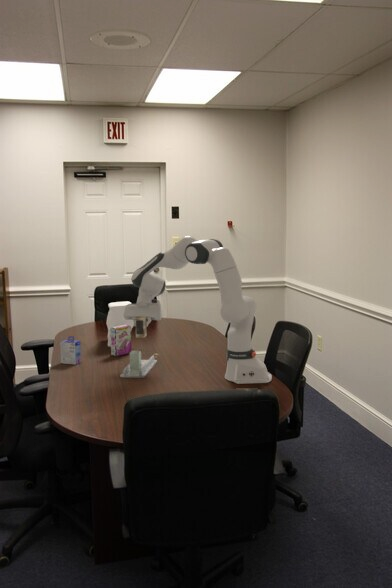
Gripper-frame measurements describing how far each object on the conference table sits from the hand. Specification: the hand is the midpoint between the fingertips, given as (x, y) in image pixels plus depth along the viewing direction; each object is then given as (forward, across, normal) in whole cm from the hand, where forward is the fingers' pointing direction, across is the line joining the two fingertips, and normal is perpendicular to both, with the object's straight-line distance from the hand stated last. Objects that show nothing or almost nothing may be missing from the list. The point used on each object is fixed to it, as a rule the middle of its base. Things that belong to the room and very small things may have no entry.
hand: (140, 325), depth 256 cm
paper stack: (-18, -25, +50) cm, 59 cm away
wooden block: (+4, 0, +5) cm, 6 cm away
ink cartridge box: (+14, -40, +18) cm, 46 cm away
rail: (+19, 0, +12) cm, 22 cm away
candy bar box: (0, -18, +32) cm, 36 cm away
